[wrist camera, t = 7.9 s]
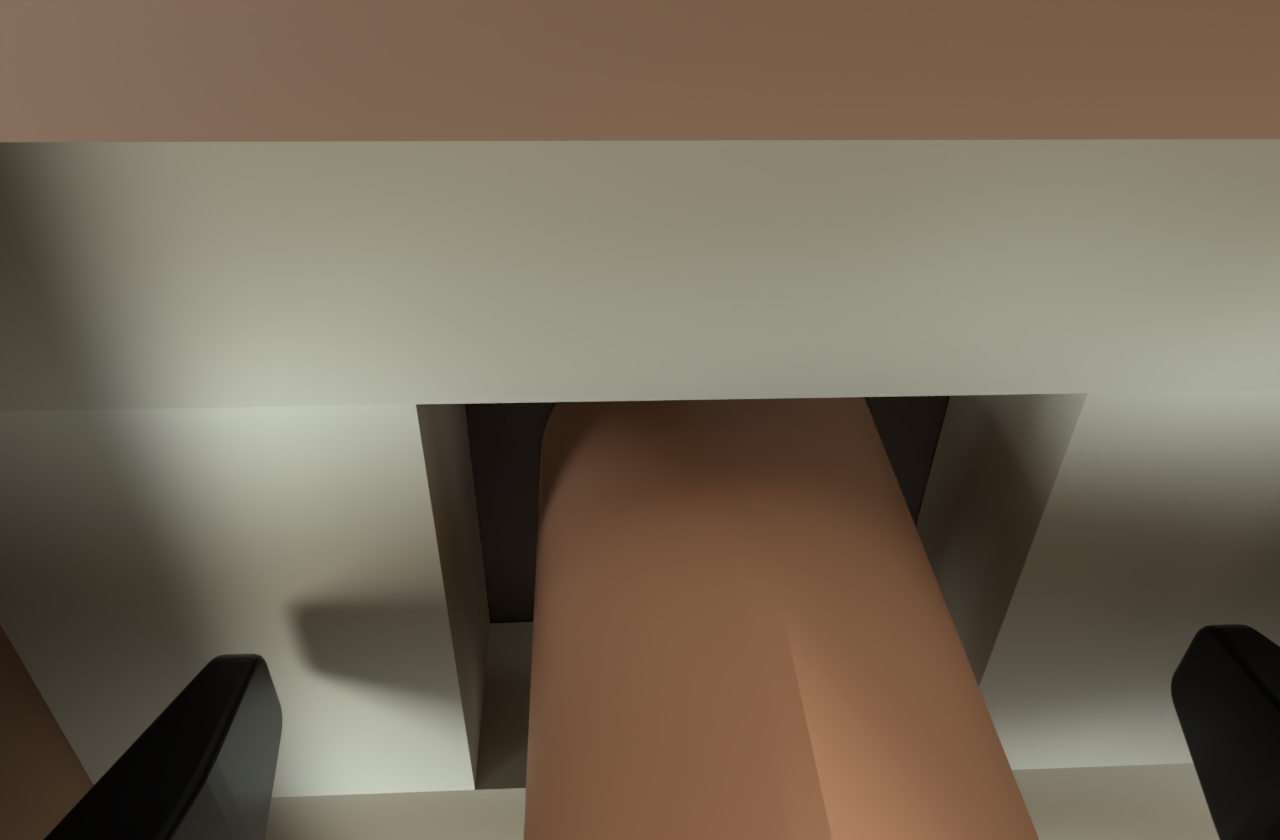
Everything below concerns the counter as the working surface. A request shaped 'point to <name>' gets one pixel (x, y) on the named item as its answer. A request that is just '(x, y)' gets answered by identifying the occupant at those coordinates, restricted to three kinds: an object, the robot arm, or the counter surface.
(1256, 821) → the robot arm
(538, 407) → the counter surface
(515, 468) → the counter surface
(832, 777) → the peg
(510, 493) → the counter surface
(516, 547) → the counter surface
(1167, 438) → the bore box
